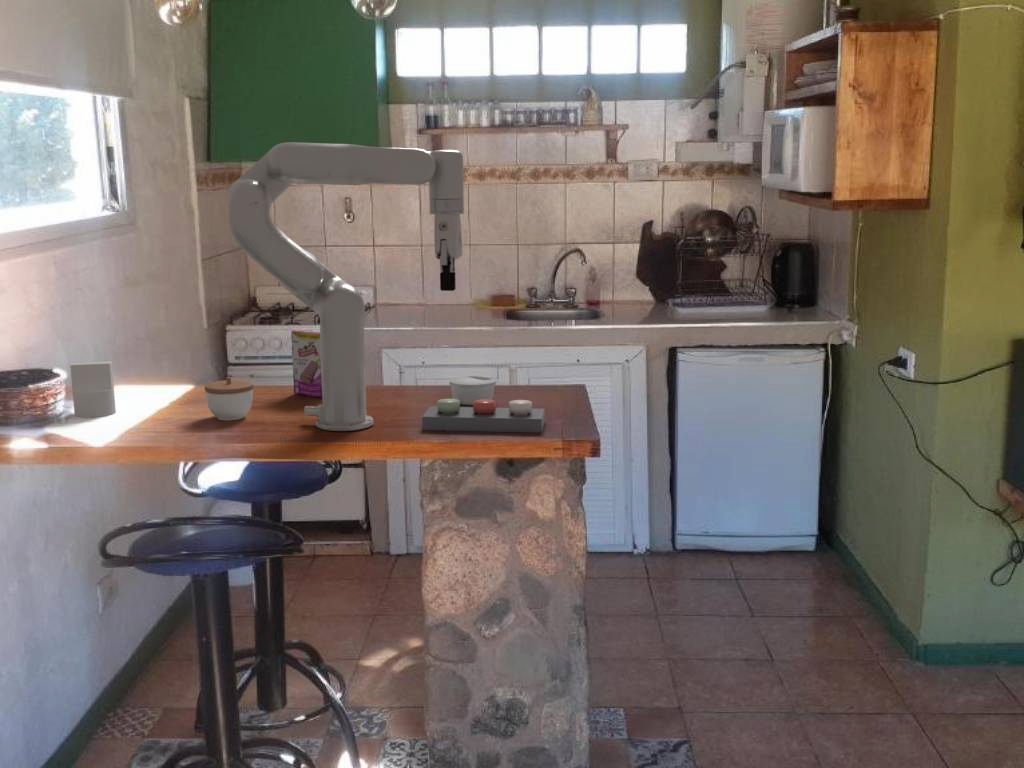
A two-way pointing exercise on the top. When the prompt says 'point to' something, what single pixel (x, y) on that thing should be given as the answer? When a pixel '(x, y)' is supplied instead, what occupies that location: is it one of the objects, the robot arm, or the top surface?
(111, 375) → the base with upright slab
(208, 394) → the lidded jar
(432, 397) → the top surface
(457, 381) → the ramekin
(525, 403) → the button cream
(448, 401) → the button sage
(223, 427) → the top surface
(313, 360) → the candy bar box
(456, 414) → the button panel
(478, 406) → the button red
